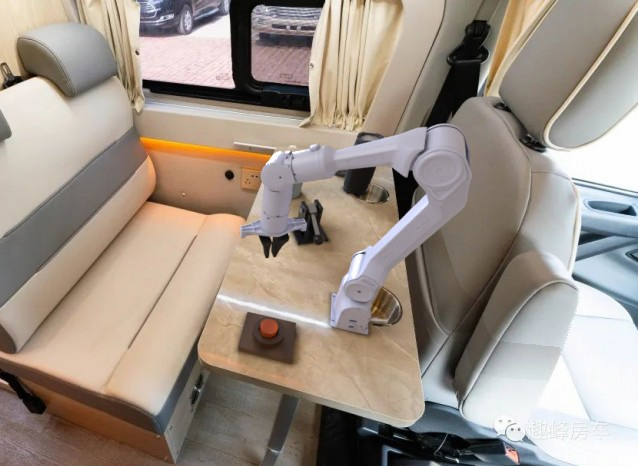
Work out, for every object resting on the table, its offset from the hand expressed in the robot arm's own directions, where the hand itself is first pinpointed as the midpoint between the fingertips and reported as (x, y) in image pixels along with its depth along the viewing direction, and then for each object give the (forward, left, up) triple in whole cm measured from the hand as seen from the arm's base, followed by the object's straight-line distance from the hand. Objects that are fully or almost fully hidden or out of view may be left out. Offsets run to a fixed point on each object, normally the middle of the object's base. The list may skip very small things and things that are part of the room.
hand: (269, 254), depth 77 cm
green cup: (+41, 0, -10) cm, 42 cm away
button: (-16, -3, -6) cm, 17 cm away
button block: (-16, -3, -9) cm, 19 cm away
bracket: (+22, -8, -9) cm, 25 cm away
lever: (+19, -9, -5) cm, 22 cm away
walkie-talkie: (+65, -19, -10) cm, 68 cm away
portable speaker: (+48, -22, -10) cm, 54 cm away
